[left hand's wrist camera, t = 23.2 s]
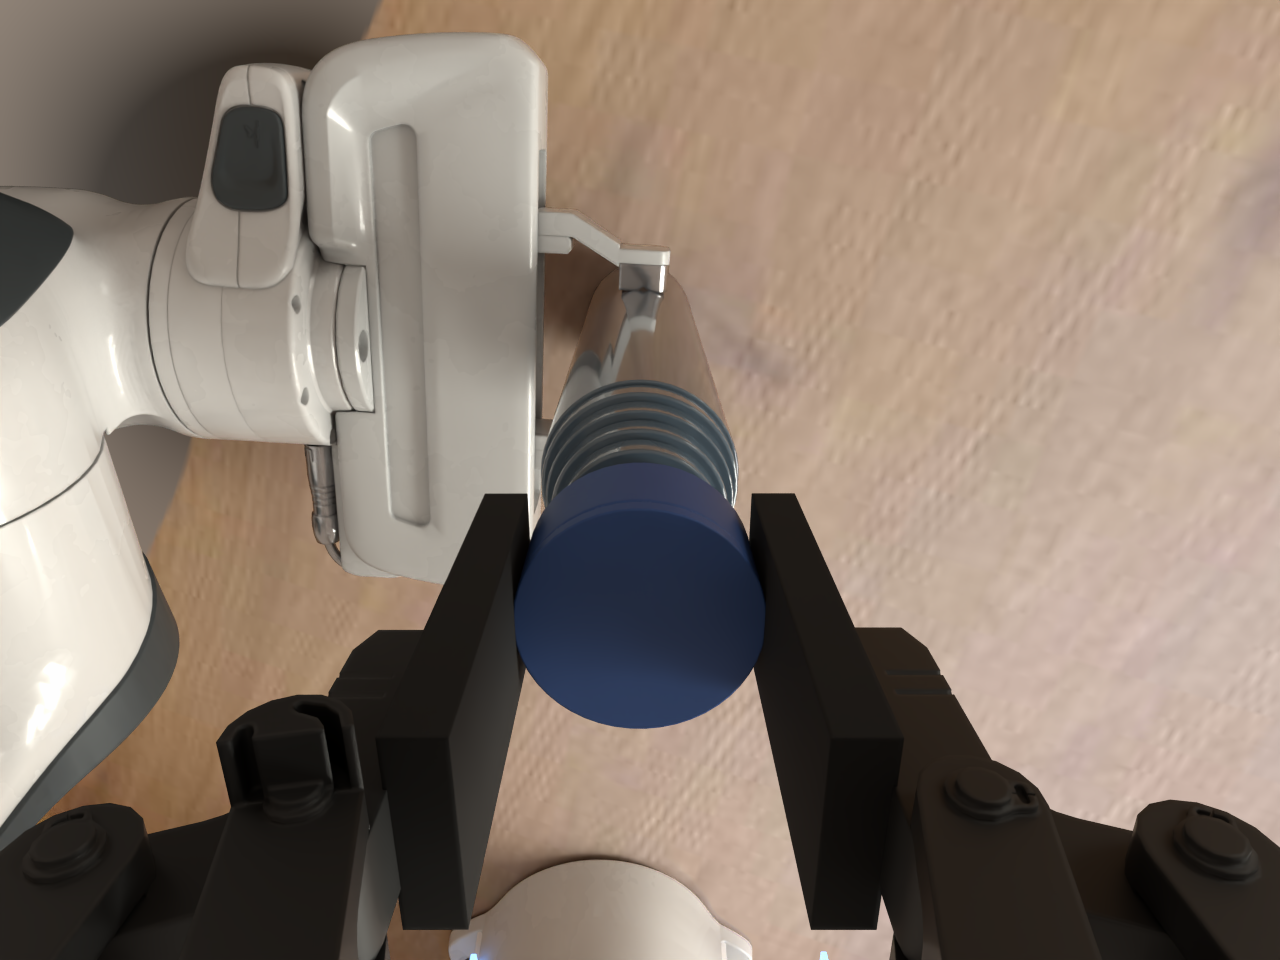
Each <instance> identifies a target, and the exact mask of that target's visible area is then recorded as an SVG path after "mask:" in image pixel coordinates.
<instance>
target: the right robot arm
mask: <svg viewBox="0 0 1280 960" xmlns="http://www.w3.org/2000/svg"><path fill="white" fill-rule="evenodd" d="M547 112H548V72H547V68H546V66H545V64H544V63H543V62H542V61H541V59H540V58H539V57H538V55H537V54H536V53H535V52H534V50H533V49H532V48H531V47H530V46H529V45H528V44H527V43H525V42H524V41H523V40H521V39H520V38H518V37H516V36H513V35H509V34H501V33H487V32H440V33H421V34H407V35H398V36H388V37H380V38H373V39H367V40H361V41H357V42H353V43H349V44H346V45H344V46H341V47H339V48H337V49H335V50H333V51H331V52H330V53H328V54H327V55H325V56H324V57H323V58H322V59H321V60H320V61H319V62H318V63H317V64H316V65H315V67H314V68H313V70H309V69H306V68H302V67H297V66H292V65H286V64H276V63H254V64H247V65H240V66H235V67H233V68H231V69H229V70H228V71H227V72H226V74H225V75H224V77H223V79H222V81H221V84H220V87H219V91H218V96H217V101H216V107H215V112H214V119H213V124H212V130H211V135H210V141H209V147H208V152H207V157H206V163H205V168H204V172H203V177H202V182H201V187H200V191H199V195H198V197H183V198H178V199H173V200H168V201H165V202H161V203H156V204H147V205H142V204H131V203H126V202H123V201H120V200H117V199H114V198H111V197H109V196H106V195H103V194H99V193H95V192H91V191H87V190H81V189H69V188H51V187H24V186H0V851H1V850H3V849H4V848H5V847H6V846H8V845H9V844H10V843H11V842H12V841H14V840H15V839H16V838H17V837H18V836H20V835H21V834H22V833H23V832H25V831H26V830H28V829H30V828H32V827H34V826H35V825H36V824H37V822H38V821H39V820H40V819H41V818H42V817H43V816H44V815H45V814H46V813H47V812H48V811H49V810H50V809H51V808H52V807H53V806H54V805H55V804H56V803H57V802H58V801H59V800H60V799H61V798H62V797H63V796H64V795H65V794H66V793H67V792H68V791H69V790H71V789H72V788H73V787H74V786H75V785H76V784H77V783H78V782H79V781H80V780H82V779H83V778H84V777H85V776H86V775H87V774H88V773H89V772H91V771H92V770H93V769H94V768H95V767H96V766H97V765H98V764H100V763H101V762H102V761H103V760H104V759H105V758H106V757H107V756H108V755H109V754H111V753H112V752H113V751H114V750H115V749H116V748H117V747H118V746H119V745H120V744H121V743H122V742H123V741H124V740H125V739H126V738H127V737H128V736H129V735H130V734H131V733H132V732H133V731H134V730H135V729H136V728H137V726H138V725H139V724H140V723H141V722H142V721H143V719H144V718H145V717H146V716H147V715H148V713H149V712H150V711H151V709H152V708H153V707H154V705H155V704H156V703H157V701H158V700H159V698H160V697H161V695H162V694H163V692H164V690H165V689H166V687H167V685H168V683H169V681H170V679H171V677H172V674H173V672H174V669H175V666H176V662H177V658H178V653H179V632H178V627H177V624H176V621H175V618H174V616H173V614H172V612H171V610H170V608H169V605H168V603H167V601H166V599H165V597H164V594H163V592H162V590H161V588H160V586H159V583H158V581H157V579H156V577H155V575H154V572H153V570H152V568H151V566H150V564H149V561H148V559H147V557H146V556H145V554H144V553H143V552H142V550H141V548H140V545H139V541H138V538H137V535H136V532H135V529H134V526H133V523H132V520H131V517H130V514H129V511H128V508H127V505H126V501H125V498H124V495H123V492H122V489H121V486H120V483H119V480H118V477H117V474H116V471H115V468H114V465H113V462H112V458H111V455H110V453H109V449H108V446H107V443H106V440H105V437H104V434H103V433H104V431H105V433H106V434H107V435H109V434H111V433H112V432H113V431H114V430H115V429H118V428H123V427H127V426H132V425H154V426H160V427H163V428H167V429H170V430H172V431H175V432H178V433H180V434H184V435H187V436H191V437H197V438H204V439H223V440H242V441H259V442H273V443H290V444H304V446H305V456H306V466H307V475H308V481H309V486H310V490H311V494H312V501H313V511H312V527H313V532H314V536H315V538H316V541H317V542H318V543H320V544H323V545H325V547H326V549H327V551H328V553H329V555H330V556H331V557H332V559H333V560H334V561H335V562H336V563H337V564H338V565H340V566H341V567H342V568H343V569H344V570H345V571H346V572H348V573H350V574H353V575H357V576H366V577H384V578H395V577H400V576H401V577H406V578H411V579H415V580H420V581H425V582H430V583H435V584H441V585H444V583H445V581H446V579H447V577H448V575H449V572H450V570H451V568H452V566H453V563H454V561H455V559H456V557H457V554H458V552H459V550H460V548H461V546H462V543H463V541H464V539H465V537H466V534H467V532H468V530H469V528H470V526H471V523H472V521H473V519H474V517H475V514H476V512H477V510H478V508H479V505H480V503H481V501H482V499H483V497H484V494H485V493H528V509H529V527H530V541H531V537H532V533H533V531H534V529H535V526H536V524H537V522H538V520H539V518H540V516H541V460H542V455H543V450H544V446H545V443H546V440H547V437H548V434H549V431H550V427H551V424H552V421H553V420H550V419H542V401H543V343H544V285H545V253H556V254H568V253H569V252H570V251H571V250H572V248H573V247H574V245H575V239H576V240H578V241H579V242H581V243H582V244H584V245H585V246H587V247H588V248H590V249H591V250H593V251H594V252H596V253H598V254H599V255H601V256H602V257H604V258H605V259H607V260H608V261H610V262H611V263H613V264H614V265H616V266H618V267H619V290H626V291H638V290H640V289H641V288H643V287H644V288H645V289H646V290H648V291H651V292H667V285H668V274H669V260H670V248H669V247H664V246H657V245H641V244H625V243H621V239H619V238H618V237H616V236H615V235H613V234H612V233H611V232H609V231H608V230H606V229H605V228H603V227H602V226H600V225H599V224H597V223H596V222H594V221H593V220H591V219H590V218H589V217H587V216H586V215H584V214H583V213H581V212H580V211H578V210H577V209H562V208H547V207H546V170H547ZM619 263H620V266H619ZM338 541H340V551H339V550H338V548H337V546H336V544H335V543H336V542H338ZM448 952H449V956H450V960H752V946H751V944H750V943H749V942H748V941H747V940H746V939H745V938H744V937H742V936H741V935H739V934H738V933H736V932H734V931H732V930H731V929H729V928H727V927H725V926H723V925H721V924H720V923H718V922H717V921H716V920H715V919H714V917H713V916H712V915H711V914H710V913H709V911H708V910H707V908H706V907H705V906H704V904H703V903H702V902H701V901H700V900H699V898H698V897H697V896H696V895H695V894H694V893H693V892H692V891H690V890H689V889H688V888H687V887H685V886H684V885H683V884H681V883H680V882H678V881H677V880H675V879H673V878H672V877H670V876H668V875H666V874H664V873H662V872H659V871H657V870H654V869H652V868H649V867H645V866H642V865H638V864H634V863H629V862H624V861H616V860H583V861H575V862H569V863H564V864H560V865H557V866H553V867H550V868H547V869H545V870H542V871H540V872H537V873H535V874H533V875H531V876H529V877H528V878H526V879H524V880H523V881H521V882H520V883H518V884H517V885H516V886H514V887H513V888H512V889H511V890H510V891H509V892H507V893H506V894H505V896H504V897H503V898H502V899H501V900H500V901H499V902H498V903H497V904H496V905H495V906H494V907H493V908H492V909H491V910H489V911H488V912H487V913H485V914H482V915H480V916H477V917H475V918H473V919H471V920H470V925H469V930H453V931H452V932H451V934H450V940H449V948H448ZM820 960H828V957H827V953H826V952H821V956H820Z"/></svg>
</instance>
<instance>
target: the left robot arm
mask: <svg viewBox="0 0 1280 960" xmlns="http://www.w3.org/2000/svg"><path fill="white" fill-rule="evenodd" d="M749 543H750V546H751V550H752V553H753V557H754V561H755V564H756V568H757V571H758V575H759V578H760V582H761V585H762V589H763V593H764V598H765V602H766V610H765V627H764V641H763V647H762V649H761V652H760V655H759V657H758V660H757V662H756V663H755V665H754V672H755V676H756V681H757V685H758V690H759V694H760V699H761V704H762V708H763V713H764V717H765V722H766V726H767V731H768V736H769V740H770V745H771V749H772V754H773V758H774V763H775V768H776V772H777V777H778V781H779V786H780V790H781V795H782V800H783V804H784V809H785V813H786V818H787V822H788V827H789V831H790V836H791V841H792V845H793V850H794V854H795V859H796V863H797V868H798V873H799V877H800V882H801V886H802V891H803V895H804V900H805V905H806V909H807V914H808V918H809V923H810V927H811V930H877V923H878V916H879V909H880V902H881V895H882V897H883V900H884V903H885V906H886V909H887V912H888V915H889V919H890V922H891V925H892V928H893V931H894V934H893V940H892V947H891V953H890V959H889V960H1280V847H1279V846H1277V845H1276V844H1275V843H1274V842H1272V841H1271V840H1270V839H1269V838H1268V837H1266V836H1265V835H1264V834H1263V833H1261V832H1260V831H1259V830H1258V829H1257V828H1255V827H1253V826H1252V825H1250V824H1248V823H1246V822H1244V821H1242V820H1240V819H1239V818H1237V817H1235V816H1233V815H1231V814H1229V813H1227V812H1225V811H1222V810H1219V809H1215V808H1212V807H1209V806H1206V805H1203V804H1200V803H1197V802H1187V801H1178V800H1166V801H1161V802H1156V803H1151V804H1149V805H1148V806H1147V807H1146V808H1144V809H1143V810H1142V811H1141V812H1140V813H1139V814H1138V815H1137V819H1136V822H1135V826H1134V829H1133V831H1130V830H1126V829H1121V828H1117V827H1113V826H1108V825H1104V824H1100V823H1095V822H1091V821H1087V820H1082V819H1078V818H1075V817H1072V816H1068V815H1065V814H1062V813H1058V812H1056V811H1053V810H1051V809H1050V808H1049V805H1048V804H1047V802H1046V800H1045V799H1044V797H1043V796H1042V794H1041V792H1040V791H1039V789H1038V788H1037V787H1036V786H1035V785H1033V784H1032V783H1031V782H1030V781H1029V780H1027V779H1026V778H1025V777H1024V776H1023V775H1021V774H1020V773H1019V772H1017V771H1015V770H1013V769H1011V768H1009V767H1007V766H1005V765H1003V764H1001V763H999V762H997V761H993V760H991V758H990V756H989V754H988V753H987V751H986V749H985V747H984V746H983V744H982V742H981V740H980V739H979V737H978V735H977V733H976V732H975V730H974V728H973V727H972V725H971V723H970V721H969V720H968V718H967V716H966V714H965V713H964V711H963V709H962V707H961V706H960V704H959V702H958V700H957V699H956V697H955V695H952V694H951V688H950V687H949V685H948V683H947V681H946V680H945V678H944V676H943V675H940V669H939V668H938V666H937V664H936V662H935V661H934V659H933V657H932V655H931V654H930V652H929V650H928V648H927V647H926V646H924V645H923V644H922V643H921V642H919V641H918V640H917V639H915V638H914V637H913V636H911V635H910V634H909V633H908V632H906V631H905V630H904V629H902V628H855V627H854V625H853V623H852V620H851V618H850V616H849V614H848V611H847V609H846V607H845V605H844V602H843V600H842V598H841V596H840V594H839V591H838V589H837V587H836V585H835V582H834V580H833V578H832V576H831V574H830V571H829V569H828V567H827V565H826V562H825V560H824V558H823V556H822V553H821V551H820V549H819V547H818V545H817V542H816V540H815V538H814V536H813V533H812V531H811V529H810V527H809V524H808V522H807V520H806V518H805V516H804V513H803V511H802V509H801V507H800V504H799V502H798V500H797V498H796V496H795V493H752V499H751V518H750V536H749ZM529 544H530V527H529V509H528V493H485V494H484V497H483V499H482V501H481V503H480V505H479V508H478V510H477V512H476V514H475V517H474V519H473V521H472V523H471V526H470V528H469V530H468V532H467V534H466V537H465V539H464V541H463V543H462V546H461V548H460V550H459V552H458V554H457V557H456V559H455V561H454V563H453V566H452V568H451V570H450V572H449V575H448V577H447V579H446V581H445V583H444V586H443V588H442V590H441V592H440V595H439V597H438V599H437V601H436V603H435V606H434V608H433V610H432V612H431V615H430V617H429V619H428V621H427V623H426V626H425V628H424V630H378V631H377V632H375V633H374V634H373V635H372V636H370V637H369V638H368V639H366V640H365V641H364V642H363V643H361V644H360V645H359V646H357V647H356V648H355V649H354V650H353V651H352V652H351V654H350V656H349V658H348V659H347V661H346V663H345V665H344V666H343V668H342V670H341V672H340V676H339V678H337V679H336V680H335V682H334V684H333V686H332V687H331V689H330V691H329V696H328V697H327V696H324V695H295V696H290V697H285V698H281V699H276V700H272V701H270V702H267V703H265V704H263V705H261V706H258V707H256V708H254V709H251V710H249V711H247V712H246V713H244V714H243V715H242V716H240V717H239V718H238V719H236V720H235V721H234V722H232V723H231V724H230V725H228V726H227V728H226V729H225V731H224V732H223V733H222V735H221V736H220V738H219V739H218V740H217V742H216V744H217V748H218V753H219V757H220V761H221V766H222V770H223V774H224V778H225V783H226V787H227V791H228V795H229V800H230V804H231V809H230V812H229V813H227V814H225V815H222V816H219V817H216V818H212V819H209V820H206V821H203V822H198V823H194V824H190V825H186V826H181V827H177V828H173V829H168V830H164V831H160V832H156V833H151V834H147V831H146V828H145V824H144V821H143V818H142V817H141V816H140V815H139V814H138V813H137V812H135V811H134V810H133V809H132V808H131V807H127V806H122V805H117V804H112V803H106V804H97V805H87V806H82V807H79V808H75V809H72V810H69V811H66V812H63V813H60V814H57V815H54V816H52V817H50V818H48V819H47V820H45V821H43V822H41V823H39V824H37V825H35V826H34V827H32V828H30V829H28V830H26V831H25V832H23V833H22V834H21V835H20V836H18V837H17V838H16V839H15V840H14V841H12V842H11V843H10V844H9V845H8V846H6V847H5V848H4V849H3V850H1V851H0V960H390V953H389V947H388V940H387V934H386V933H387V930H388V927H389V924H390V921H391V918H392V915H393V912H394V908H395V905H396V902H397V899H399V906H400V913H401V920H402V926H403V930H469V925H470V920H471V916H472V911H473V907H474V902H475V898H476V893H477V889H478V884H479V879H480V875H481V870H482V866H483V861H484V857H485V852H486V847H487V843H488V838H489V834H490V829H491V825H492V820H493V815H494V811H495V806H496V802H497V797H498V793H499V788H500V783H501V779H502V774H503V770H504V765H505V761H506V756H507V752H508V747H509V742H510V738H511V733H512V729H513V724H514V720H515V715H516V710H517V706H518V701H519V697H520V692H521V688H522V683H523V678H524V674H525V669H526V666H525V665H524V663H523V661H522V659H521V657H520V654H519V651H518V648H517V646H516V635H515V620H514V599H515V595H516V591H517V587H518V584H519V580H520V577H521V573H522V569H523V566H524V562H525V559H526V555H527V551H528V548H529Z"/></svg>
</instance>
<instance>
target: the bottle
mask: <svg viewBox="0 0 1280 960" xmlns="http://www.w3.org/2000/svg"><path fill="white" fill-rule="evenodd" d="M625 463H654V464H661V465H667V466H670V467H674V468H678V469H681V470H683V471H686V472H688V473H691V474H693V475H695V476H697V477H698V478H700V479H702V480H704V481H705V482H707V483H708V484H709V485H711V486H712V487H713V488H715V489H716V490H717V491H718V492H719V493H720V494H721V495H723V496H724V497H725V498H726V499H727V500H728V502H729V503H730V504H731V506H732V507H733V508H734V506H735V503H736V497H737V491H738V459H737V453H736V450H735V446H734V442H733V439H732V436H731V433H730V430H729V427H728V424H727V420H726V417H725V414H724V411H723V408H722V405H721V402H720V399H719V396H718V392H717V389H716V386H715V383H714V380H713V377H712V374H711V371H710V368H709V364H708V361H707V358H706V355H705V352H704V349H703V346H702V343H701V339H700V336H699V333H698V330H697V327H696V324H695V321H694V318H693V315H692V311H691V308H690V305H689V302H688V299H687V296H686V294H685V292H684V290H683V288H682V286H681V285H680V284H679V282H678V281H677V280H676V279H675V278H674V277H673V276H672V275H670V274H668V285H667V292H651V291H648V290H646V289H645V288H644V287H643V288H641V289H640V290H638V291H626V290H619V268H618V269H616V270H614V271H613V272H611V273H610V274H609V275H607V276H606V277H605V278H604V279H603V280H602V281H601V282H600V284H599V285H598V287H597V288H596V290H595V292H594V294H593V297H592V299H591V302H590V305H589V309H588V312H587V315H586V318H585V321H584V324H583V327H582V330H581V334H580V337H579V340H578V343H577V346H576V349H575V352H574V356H573V359H572V362H571V365H570V368H569V371H568V374H567V377H566V381H565V384H564V387H563V390H562V393H561V396H560V399H559V402H558V406H557V409H556V412H555V415H554V418H553V421H552V424H551V427H550V431H549V434H548V437H547V440H546V443H545V446H544V450H543V455H542V460H541V486H542V497H543V501H544V506H545V508H546V507H547V506H548V505H549V503H550V502H551V501H552V500H553V499H554V498H555V497H556V496H557V495H558V494H559V493H560V492H561V491H562V490H563V489H564V488H566V487H567V486H568V485H570V484H571V483H573V482H574V481H576V480H577V479H579V478H581V477H583V476H585V475H587V474H589V473H591V472H594V471H596V470H599V469H602V468H605V467H609V466H613V465H617V464H625Z"/></svg>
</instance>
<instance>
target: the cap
mask: <svg viewBox="0 0 1280 960" xmlns="http://www.w3.org/2000/svg"><path fill="white" fill-rule="evenodd" d="M765 610H766V602H765V598H764V593H763V589H762V585H761V582H760V578H759V575H758V571H757V568H756V564H755V561H754V557H753V553H752V550H751V546H750V543H749V539H748V536H747V533H746V531H745V528H744V525H743V523H742V521H741V519H740V518H739V516H738V514H737V512H736V511H735V510H734V508H733V507H732V506H731V504H730V503H729V502H728V500H727V499H726V498H725V497H724V496H723V495H721V494H720V493H719V492H718V491H717V490H716V489H715V488H713V487H712V486H711V485H709V484H708V483H707V482H705V481H704V480H702V479H700V478H698V477H697V476H695V475H693V474H691V473H688V472H686V471H683V470H681V469H678V468H674V467H670V466H667V465H661V464H654V463H625V464H617V465H613V466H609V467H605V468H602V469H599V470H596V471H594V472H591V473H589V474H587V475H585V476H583V477H581V478H579V479H577V480H576V481H574V482H573V483H571V484H570V485H568V486H567V487H566V488H564V489H563V490H562V491H561V492H560V493H559V494H558V495H557V496H556V497H555V498H554V499H553V500H552V501H551V502H550V503H549V505H548V506H547V507H546V508H545V510H544V511H543V513H542V515H541V516H540V518H539V520H538V522H537V524H536V526H535V529H534V531H533V533H532V537H531V541H530V544H529V548H528V551H527V555H526V559H525V562H524V566H523V569H522V573H521V577H520V580H519V584H518V587H517V591H516V595H515V599H514V620H515V635H516V646H517V648H518V651H519V654H520V657H521V659H522V661H523V663H524V665H525V666H526V668H527V670H528V672H529V673H530V675H531V676H532V677H533V679H534V680H535V681H536V683H537V684H538V685H539V686H540V687H541V688H542V689H543V690H544V691H545V692H546V693H547V694H548V695H549V696H550V697H551V698H553V699H554V700H555V701H556V702H557V703H559V704H560V705H562V706H563V707H565V708H567V709H568V710H570V711H571V712H573V713H576V714H578V715H580V716H582V717H584V718H586V719H589V720H592V721H595V722H598V723H601V724H605V725H610V726H614V727H622V728H634V729H647V728H658V727H664V726H669V725H674V724H678V723H681V722H684V721H687V720H691V719H693V718H695V717H697V716H700V715H702V714H704V713H706V712H708V711H709V710H711V709H713V708H714V707H716V706H718V705H719V704H720V703H722V702H723V701H724V700H726V699H727V698H728V697H729V696H731V695H732V694H733V693H734V692H735V691H736V690H737V689H738V688H739V687H740V686H741V684H742V683H743V682H744V680H745V679H746V678H747V676H748V675H749V674H750V672H751V670H752V669H753V667H754V665H755V663H756V662H757V660H758V657H759V655H760V652H761V649H762V647H763V641H764V627H765Z"/></svg>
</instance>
